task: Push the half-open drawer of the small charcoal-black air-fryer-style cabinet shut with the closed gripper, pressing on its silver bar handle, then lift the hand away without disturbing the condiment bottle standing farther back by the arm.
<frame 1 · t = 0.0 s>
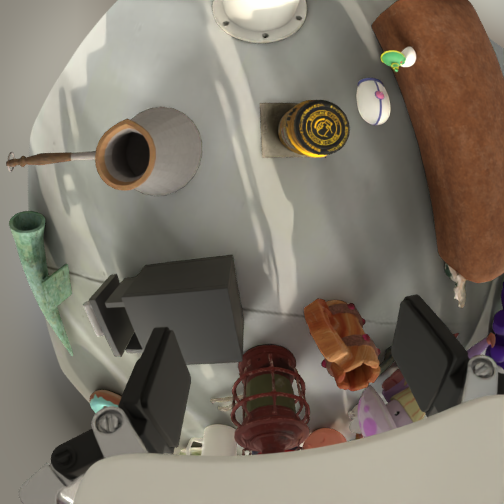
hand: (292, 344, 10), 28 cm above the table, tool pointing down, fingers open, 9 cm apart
toy 3: (466, 333, 43), point 4 cm above the table, touching decorative handle
coffee pot: (131, 149, 34), on the table
decorative horn: (58, 346, 47), on the table
toy 2: (379, 62, 26), point 4 cm above the table
decorative handle: (377, 352, 48), on the table, touching toy 3
cabinet: (195, 294, 42), on the table
jawbone: (251, 390, 52), on the table
condiment: (293, 130, 33), on the table
cup: (213, 431, 58), on the table
drawer: (134, 314, 38), point 5 cm above the table, slide at 5.0 cm
canister: (276, 441, 60), on the table
lantern: (267, 364, 48), on the table
sugar bowl: (317, 453, 51), point 8 cm above the table, touching toy dinosaur, toy train
bread: (445, 133, 32), on the table, touching figurine
figurine: (477, 292, 35), point 7 cm above the table, touching bread
teacup: (370, 423, 50), point 5 cm above the table, touching toy 5
mug: (325, 305, 43), on the table
donut: (114, 401, 55), on the table
cabbage leaf: (221, 472, 62), point 4 cm above the table
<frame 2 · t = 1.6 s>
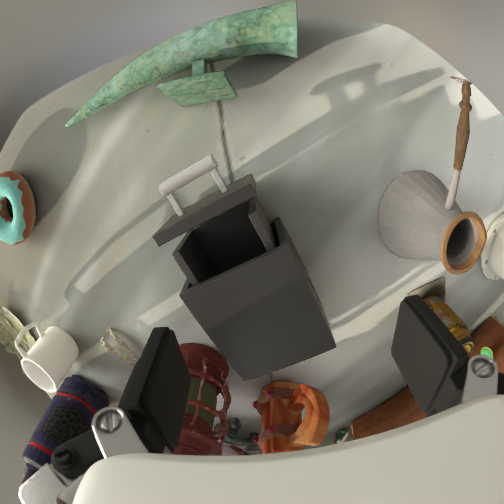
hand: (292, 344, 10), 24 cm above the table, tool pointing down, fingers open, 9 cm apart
coffee pot: (403, 173, 31), on the table
decorative horn: (67, 95, 26), on the table
toy 2: (475, 337, 37), point 4 cm above the table
decorative handle: (248, 428, 50), on the table, touching toy 3
cabinet: (261, 281, 36), on the table
jawbone: (147, 359, 43), on the table
condiment: (426, 304, 38), on the table
cup: (57, 334, 42), on the table
drawer: (225, 237, 29), point 5 cm above the table, slide at 5.0 cm
canister: (87, 392, 48), on the table
lantern: (197, 365, 43), on the table
bread: (431, 384, 47), on the table, touching figurine
figurine: (339, 461, 46), point 7 cm above the table, touching bread
mug: (287, 381, 44), on the table
donut: (18, 204, 32), on the table
cabbage leaf: (8, 357, 41), point 4 cm above the table
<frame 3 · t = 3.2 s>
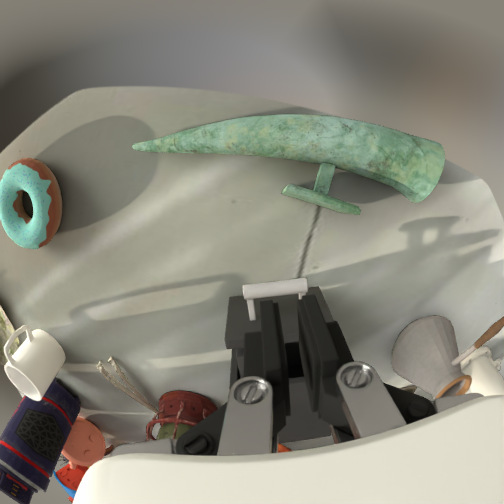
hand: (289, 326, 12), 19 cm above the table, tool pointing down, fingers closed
coffee pot: (427, 310, 35), on the table
decorative horn: (145, 104, 24), on the table
cabinet: (281, 364, 38), on the table
jawbone: (139, 389, 41), on the table
toy dinosaur: (72, 453, 42), point 8 cm above the table, touching sugar bowl, toy train
cup: (45, 338, 37), on the table
drawer: (280, 341, 30), point 5 cm above the table, slide at 5.0 cm
canister: (58, 391, 43), on the table
lantern: (188, 407, 42), on the table
sugar bowl: (81, 444, 39), point 8 cm above the table, touching toy dinosaur, toy train
toy train: (105, 471, 46), point 7 cm above the table, touching sugar bowl, toy dinosaur, toy 5
donut: (37, 199, 28), on the table
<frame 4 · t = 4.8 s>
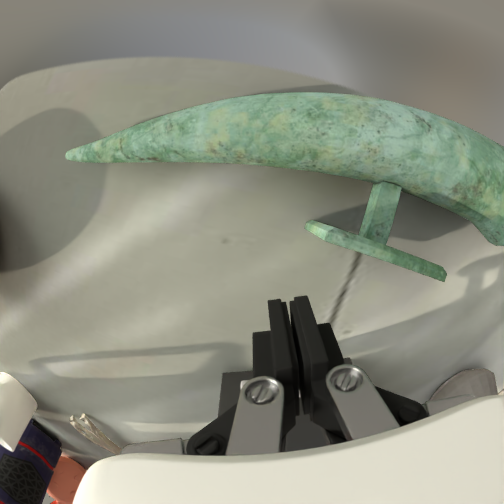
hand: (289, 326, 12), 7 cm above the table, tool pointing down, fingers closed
coffee pot: (470, 361, 24), on the table
decorative horn: (86, 88, 13), on the table
jawbone: (121, 443, 30), on the table
cup: (13, 382, 26), on the table
drawer: (293, 432, 19), point 5 cm above the table, slide at 5.0 cm
canister: (37, 430, 32), on the table
sugar bowl: (65, 486, 28), point 8 cm above the table, touching toy dinosaur, toy train
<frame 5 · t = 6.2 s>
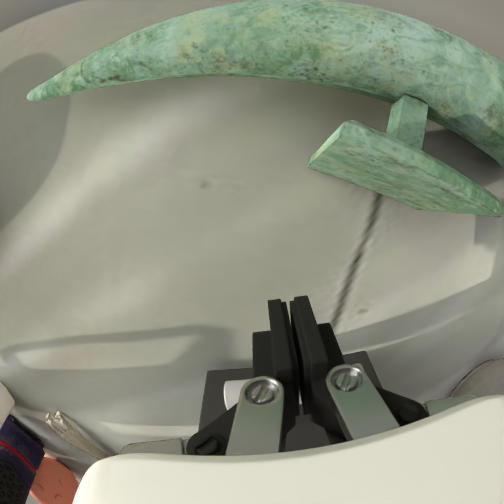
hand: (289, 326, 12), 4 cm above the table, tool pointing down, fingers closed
coffee pot: (493, 350, 19), on the table
decorative horn: (58, 28, 9), on the table
jawbone: (102, 446, 26), on the table
drawer: (295, 444, 15), point 5 cm above the table, slide at 4.4 cm, touching gripper
canister: (20, 429, 28), on the table
sugar bowl: (50, 489, 24), point 8 cm above the table, touching toy dinosaur, toy train
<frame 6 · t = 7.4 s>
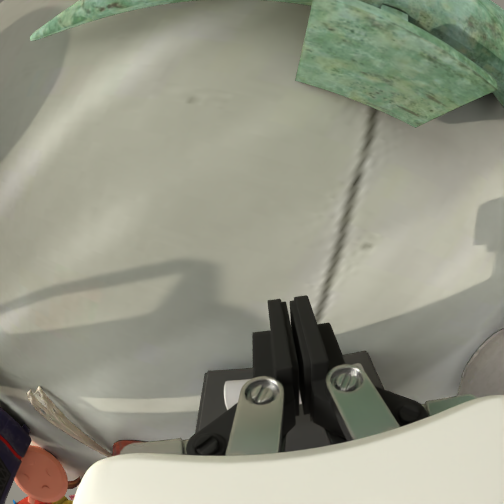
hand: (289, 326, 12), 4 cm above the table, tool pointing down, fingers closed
cabinet: (291, 417, 20), on the table
jawbone: (87, 429, 24), on the table
drawer: (296, 445, 15), point 5 cm above the table, slide at 0.0 cm, touching cabinet, gripper
canister: (7, 415, 26), on the table
lantern: (154, 458, 25), on the table
sugar bowl: (36, 479, 22), point 8 cm above the table, touching toy dinosaur, toy train
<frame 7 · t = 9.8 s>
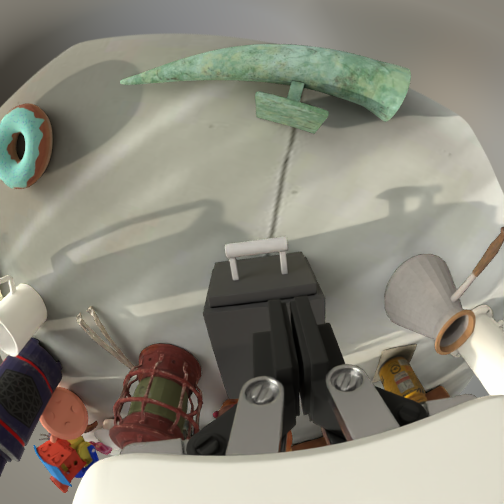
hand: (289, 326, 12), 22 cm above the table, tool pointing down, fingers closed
coffee pot: (419, 251, 35), on the table
decorative horn: (133, 48, 23), on the table
toy 5: (89, 441, 54), point 1 cm above the table, touching teacup, toy train
decorative handle: (194, 431, 49), on the table, touching toy 3
cabinet: (265, 308, 37), on the table
jawbone: (119, 346, 41), on the table
condiment: (393, 362, 43), on the table
cup: (28, 294, 36), on the table
drawer: (264, 305, 31), point 5 cm above the table, slide at 0.0 cm, touching cabinet
canister: (41, 358, 42), on the table
lantern: (170, 365, 41), on the table
sugar bowl: (61, 415, 38), point 8 cm above the table, touching toy dinosaur, toy train
bread: (371, 429, 52), on the table, touching figurine
toy train: (89, 449, 45), point 7 cm above the table, touching sugar bowl, toy dinosaur, toy 5
teacup: (113, 442, 45), point 5 cm above the table, touching toy 5
donut: (30, 144, 27), on the table
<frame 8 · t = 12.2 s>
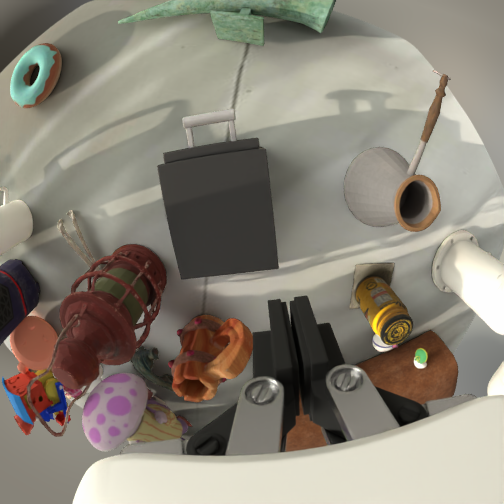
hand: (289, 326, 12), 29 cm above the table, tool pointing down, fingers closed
toy 3: (196, 433, 55), point 4 cm above the table, touching decorative handle
coffee pot: (378, 152, 36), on the table
decorative horn: (130, 1, 25), on the table
toy 5: (63, 390, 56), point 1 cm above the table, touching teacup, toy train
toy 2: (412, 340, 45), point 4 cm above the table
decorative handle: (163, 368, 51), on the table, touching toy 3
cabinet: (226, 200, 39), on the table
jawbone: (93, 255, 42), on the table
condiment: (371, 285, 44), on the table
cup: (19, 210, 38), on the table
drawer: (218, 178, 33), point 5 cm above the table, slide at 0.0 cm, touching cabinet
canister: (22, 283, 44), on the table
lantern: (137, 273, 43), on the table
sugar bowl: (32, 340, 40), point 8 cm above the table, touching toy dinosaur, toy train
bread: (356, 381, 54), on the table, touching figurine
toy train: (59, 392, 47), point 7 cm above the table, touching sugar bowl, toy dinosaur, toy 5
teacup: (82, 380, 47), point 5 cm above the table, touching toy 5
mug: (217, 320, 47), on the table
donut: (41, 76, 29), on the table
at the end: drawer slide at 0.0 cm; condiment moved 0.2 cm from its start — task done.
